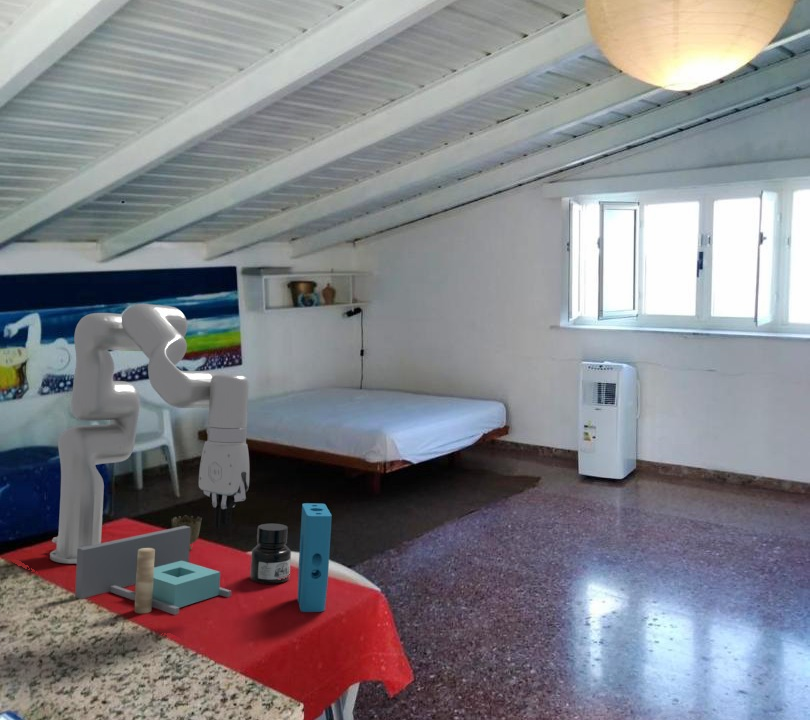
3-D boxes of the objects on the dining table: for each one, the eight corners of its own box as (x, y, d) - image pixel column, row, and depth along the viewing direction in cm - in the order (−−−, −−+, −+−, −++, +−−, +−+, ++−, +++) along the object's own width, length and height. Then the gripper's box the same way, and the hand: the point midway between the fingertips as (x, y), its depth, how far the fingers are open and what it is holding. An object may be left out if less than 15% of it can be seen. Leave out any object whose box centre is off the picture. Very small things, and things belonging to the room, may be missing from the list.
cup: (163, 550, 192) (165, 518, 192) (182, 544, 199) (183, 513, 199) (187, 554, 190) (189, 523, 189) (205, 548, 196) (207, 517, 196)
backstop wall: (74, 596, 155) (77, 548, 155) (182, 567, 179) (184, 525, 179) (147, 623, 143) (150, 571, 143) (252, 589, 167) (255, 543, 166)
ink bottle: (261, 587, 168) (264, 533, 168) (241, 577, 175) (244, 525, 174) (298, 580, 174) (301, 528, 174) (277, 570, 181) (280, 520, 181)
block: (326, 614, 154) (332, 516, 153) (301, 615, 153) (307, 516, 152) (319, 594, 165) (324, 503, 165) (296, 595, 164) (301, 503, 164)
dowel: (131, 610, 149) (134, 550, 149) (144, 606, 152) (147, 547, 152) (141, 614, 148) (145, 553, 147) (155, 610, 150) (158, 550, 150)
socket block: (134, 595, 157) (136, 572, 157) (180, 582, 167) (181, 560, 167) (174, 609, 151) (175, 584, 151) (219, 594, 161) (220, 571, 161)
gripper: (186, 433, 153) (182, 524, 153) (240, 441, 145) (236, 536, 145) (214, 431, 159) (210, 518, 160) (267, 438, 151) (263, 530, 151)
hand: (222, 527), depth 152 cm, fingers closed
